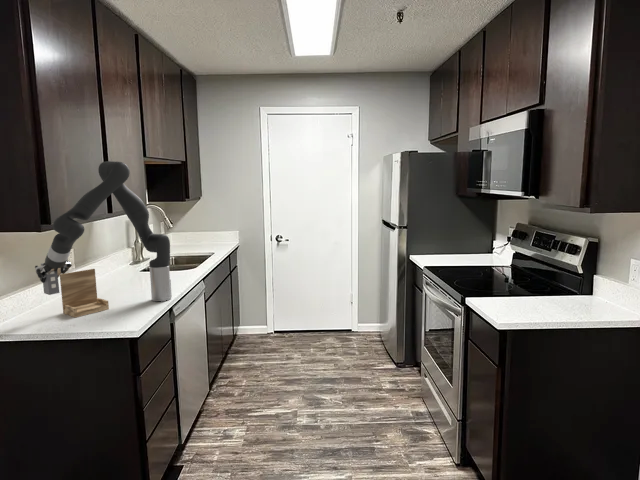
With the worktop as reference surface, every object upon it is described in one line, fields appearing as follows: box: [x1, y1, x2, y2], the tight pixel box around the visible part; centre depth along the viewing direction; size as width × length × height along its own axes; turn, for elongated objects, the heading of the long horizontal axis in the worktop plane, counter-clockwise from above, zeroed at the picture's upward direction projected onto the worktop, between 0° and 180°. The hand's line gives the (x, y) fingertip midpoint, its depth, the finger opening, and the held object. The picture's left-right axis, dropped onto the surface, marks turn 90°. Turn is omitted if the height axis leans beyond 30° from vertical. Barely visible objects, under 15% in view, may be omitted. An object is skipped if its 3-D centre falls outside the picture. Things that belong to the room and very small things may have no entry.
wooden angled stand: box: [59, 268, 110, 318], centre depth 191 cm, size 11×15×18 cm
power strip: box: [40, 262, 61, 296], centre depth 178 cm, size 5×4×13 cm
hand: (48, 279), depth 180 cm, fingers closed on power strip, 4 cm apart
